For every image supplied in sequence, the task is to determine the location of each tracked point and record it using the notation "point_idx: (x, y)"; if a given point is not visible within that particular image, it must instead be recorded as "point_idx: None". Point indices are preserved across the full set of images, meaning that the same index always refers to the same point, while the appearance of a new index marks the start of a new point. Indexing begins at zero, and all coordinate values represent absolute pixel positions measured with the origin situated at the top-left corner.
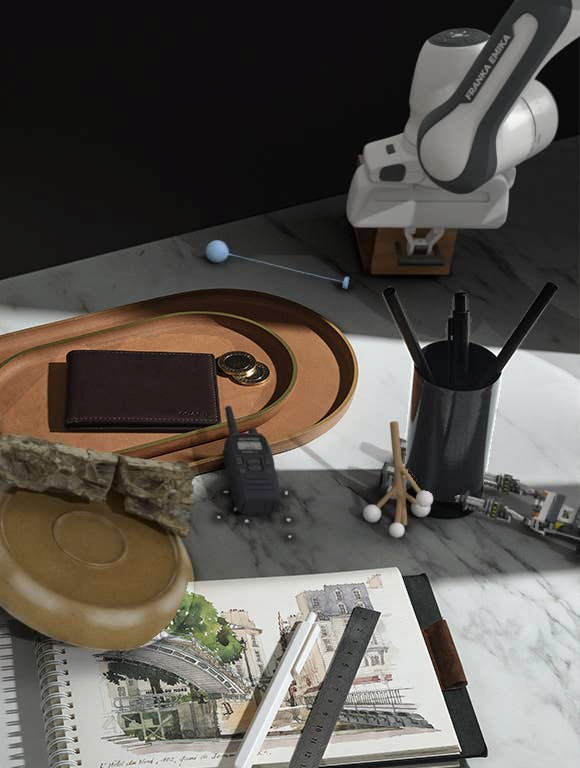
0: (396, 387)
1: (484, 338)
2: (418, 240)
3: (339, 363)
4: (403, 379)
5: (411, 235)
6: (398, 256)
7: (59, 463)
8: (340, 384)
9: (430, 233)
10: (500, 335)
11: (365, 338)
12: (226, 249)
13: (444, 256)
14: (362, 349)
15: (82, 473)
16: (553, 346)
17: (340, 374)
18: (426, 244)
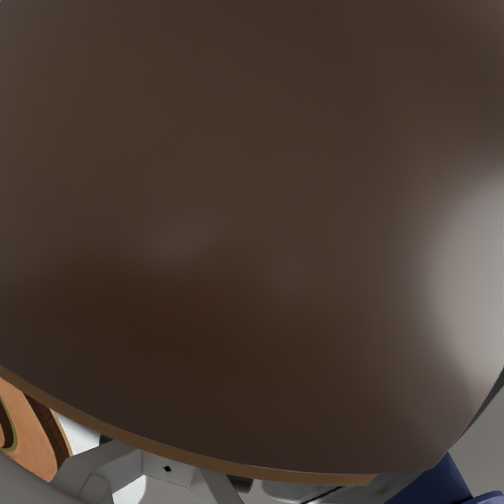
0: (118, 499)
1: (282, 487)
2: (161, 463)
3: (54, 448)
4: (128, 497)
5: (112, 486)
6: (100, 440)
7: None
8: (58, 468)
9: (206, 493)
10: (313, 485)
11: (84, 433)
12: None
13: (248, 491)
14: (80, 446)
15: None
16: (369, 499)
17: (57, 459)
18: (186, 485)
